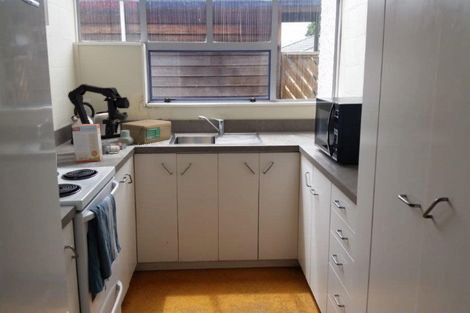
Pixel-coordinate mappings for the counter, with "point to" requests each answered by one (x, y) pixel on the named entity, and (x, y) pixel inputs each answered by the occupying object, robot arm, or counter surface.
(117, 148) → the cartridge
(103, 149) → the housing
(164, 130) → the paper package
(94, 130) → the cracker box
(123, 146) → the button collar
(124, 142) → the air freshener
